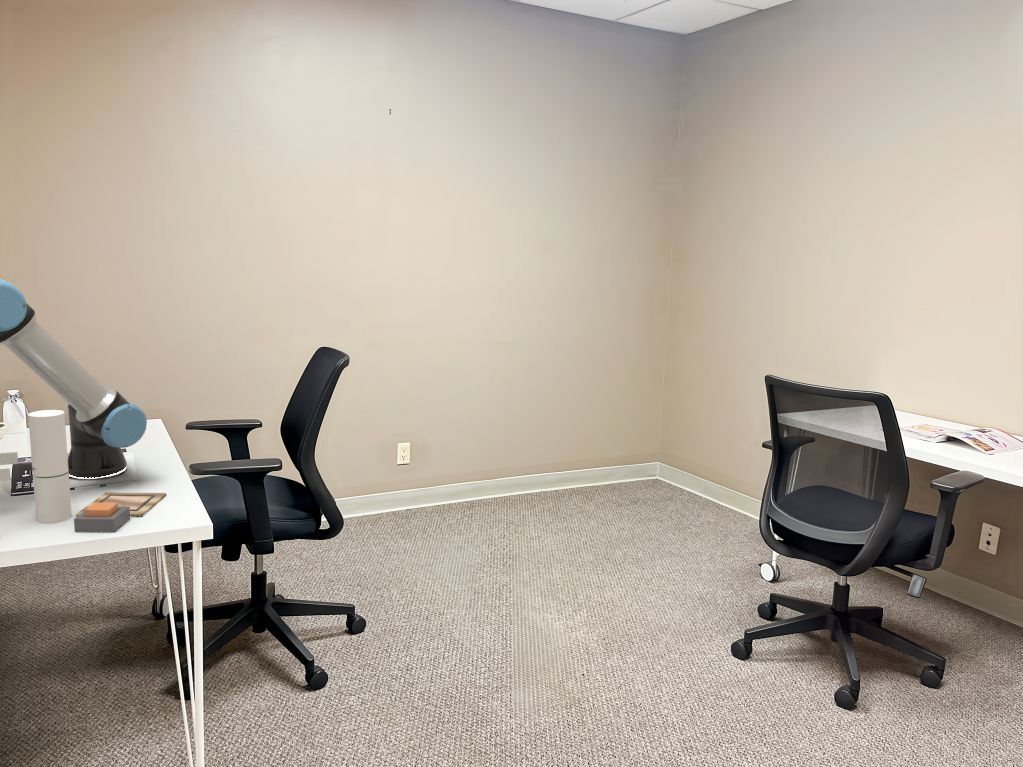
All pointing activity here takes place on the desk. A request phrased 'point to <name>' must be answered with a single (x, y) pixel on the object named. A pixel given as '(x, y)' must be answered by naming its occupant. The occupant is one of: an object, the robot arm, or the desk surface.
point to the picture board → (130, 501)
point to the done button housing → (102, 521)
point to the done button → (102, 510)
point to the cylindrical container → (50, 465)
